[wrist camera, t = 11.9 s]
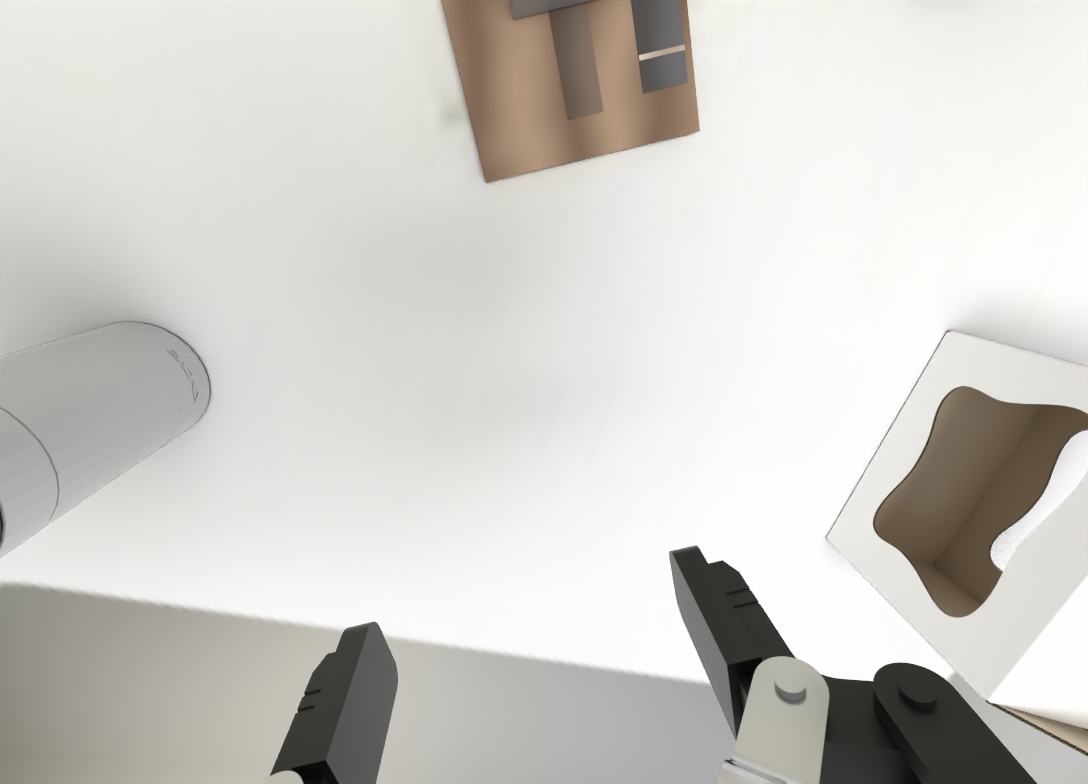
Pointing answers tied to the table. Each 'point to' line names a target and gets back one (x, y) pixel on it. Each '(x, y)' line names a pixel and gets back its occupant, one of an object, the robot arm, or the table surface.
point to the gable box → (984, 528)
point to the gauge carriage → (538, 6)
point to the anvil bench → (572, 79)
